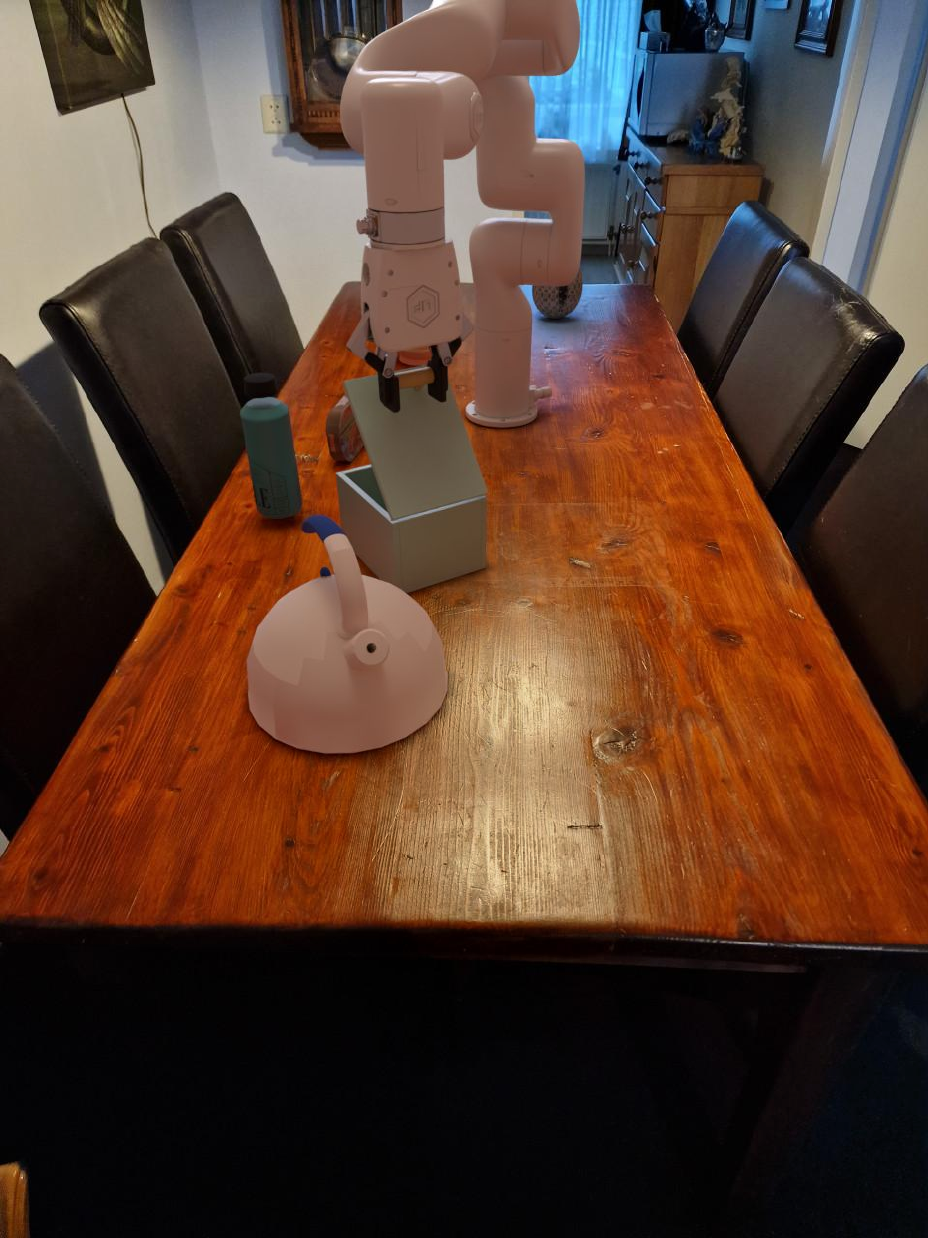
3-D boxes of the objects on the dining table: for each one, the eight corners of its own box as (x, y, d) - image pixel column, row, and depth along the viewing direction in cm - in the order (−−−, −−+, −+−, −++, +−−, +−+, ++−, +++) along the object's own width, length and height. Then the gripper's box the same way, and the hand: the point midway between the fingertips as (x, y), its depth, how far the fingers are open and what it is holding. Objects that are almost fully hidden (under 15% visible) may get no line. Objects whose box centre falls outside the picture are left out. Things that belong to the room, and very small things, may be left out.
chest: (342, 540, 108) (335, 472, 102) (425, 517, 113) (423, 451, 107) (396, 596, 97) (392, 523, 91) (486, 567, 102) (487, 497, 96)
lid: (342, 383, 91) (354, 364, 87) (439, 364, 97) (455, 345, 92) (390, 521, 91) (405, 509, 87) (485, 494, 97) (504, 481, 92)
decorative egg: (526, 312, 198) (529, 245, 190) (574, 310, 200) (578, 244, 191) (535, 325, 189) (538, 256, 180) (585, 323, 190) (590, 254, 181)
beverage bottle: (313, 511, 115) (295, 369, 103) (290, 533, 109) (269, 387, 98) (272, 504, 116) (250, 364, 105) (247, 525, 111) (222, 381, 100)
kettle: (274, 785, 72) (241, 619, 62) (231, 653, 88) (199, 503, 77) (481, 722, 79) (484, 562, 68) (407, 610, 94) (400, 466, 84)
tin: (345, 470, 125) (340, 418, 121) (326, 469, 126) (320, 416, 121) (373, 433, 137) (370, 384, 133) (356, 431, 138) (351, 382, 133)
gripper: (343, 243, 75) (359, 430, 85) (500, 223, 82) (496, 399, 92) (312, 229, 80) (330, 407, 91) (461, 212, 87) (463, 379, 98)
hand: (414, 401), depth 91 cm, fingers closed on lid, 5 cm apart
